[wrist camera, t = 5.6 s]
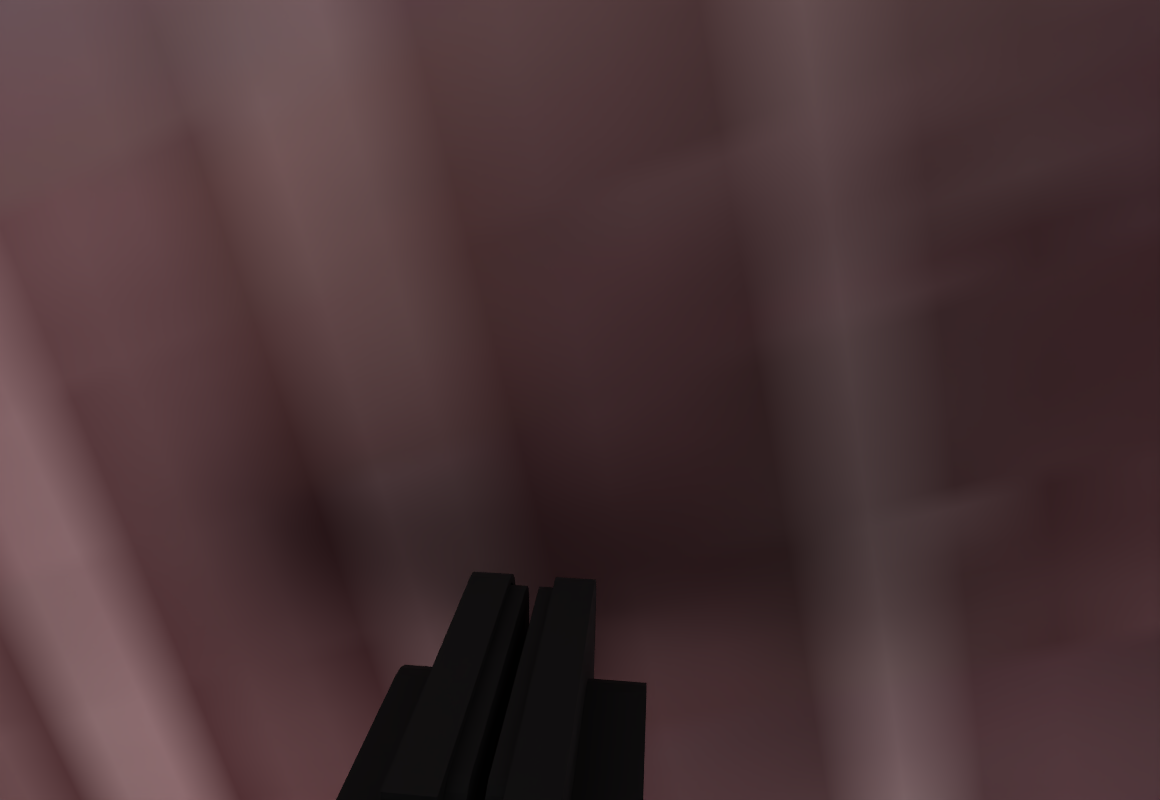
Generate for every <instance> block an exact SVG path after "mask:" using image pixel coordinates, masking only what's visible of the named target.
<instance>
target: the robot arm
mask: <svg viewBox="0 0 1160 800" xmlns="http://www.w3.org/2000/svg"><path fill="white" fill-rule="evenodd" d="M595 615H596V580H593V579H578V578H562V577H556V578H555V582H554V586H553V588H551V587H539V590H538V593H537V597H536V601H535V605H534V609H533V612H532V616H531V620H530V624H529V589H528V586H521V585H515V578H514V575H513V574H501V573H486V572H473V573H472V575H471V576H470V579H469V581H468V584H467V586H466V588H465V591H464V593H463V596H462V598H461V600H460V603H459V605H458V607H457V610H456V612H455V615H454V617H453V619H452V622H451V624H450V627H449V629H448V631H447V634H446V636H445V638H444V641H443V643H442V646H441V648H440V650H439V653H438V655H437V657H436V660H435V662H434V665H433V667H428V666H415V665H404V666H402V667H401V668H400V669H399V671H398V672H397V674H396V676H395V678H394V680H393V682H392V684H391V686H390V688H389V690H388V693H387V695H386V697H385V699H384V701H383V703H382V705H381V707H380V709H379V711H378V713H377V716H376V718H375V720H374V722H373V724H372V726H371V728H370V730H369V732H368V734H367V736H366V738H365V741H364V743H363V745H362V747H361V749H360V751H359V753H358V755H357V757H356V759H355V761H354V764H353V766H352V768H351V770H350V772H349V774H348V776H347V778H346V780H345V782H344V784H343V787H342V789H341V791H340V793H339V795H338V797H337V799H336V800H643V785H644V752H645V720H646V686H647V685H646V683H641V682H627V681H614V680H601V679H594V650H595Z"/></svg>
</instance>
